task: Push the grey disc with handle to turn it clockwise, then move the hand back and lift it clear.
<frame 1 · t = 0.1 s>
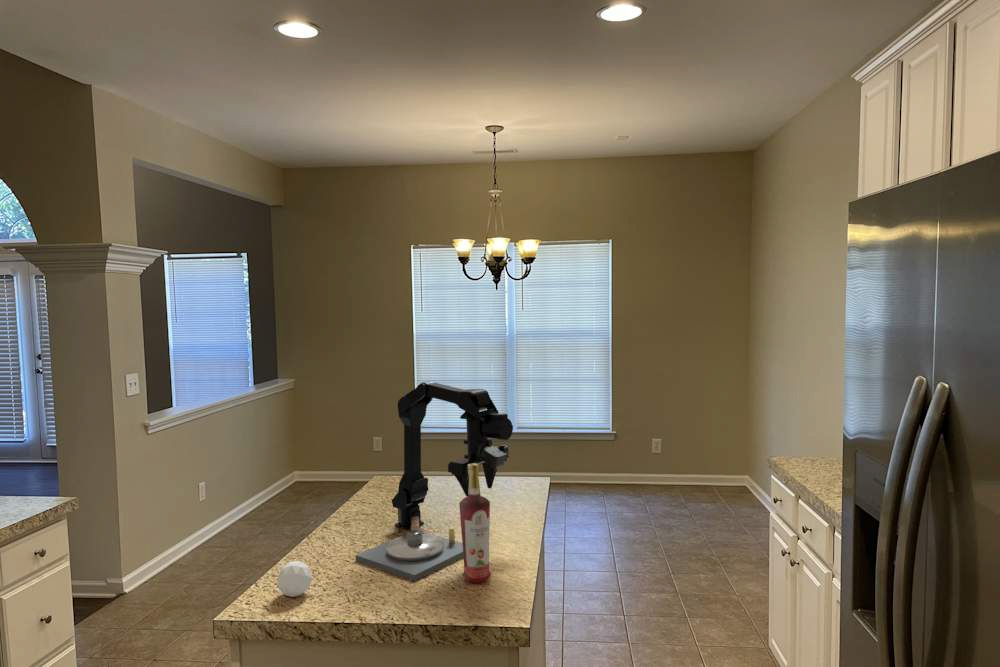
hand: (479, 492, 177), 15 cm above the counter, tool pointing down, fingers open, 9 cm apart
grey disc with handle: (415, 537, 173), point 4 cm above the counter, hinge at 0.0°
liquor: (477, 580, 155), on the counter
ball: (295, 595, 150), on the counter
post plate: (415, 556, 171), on the counter
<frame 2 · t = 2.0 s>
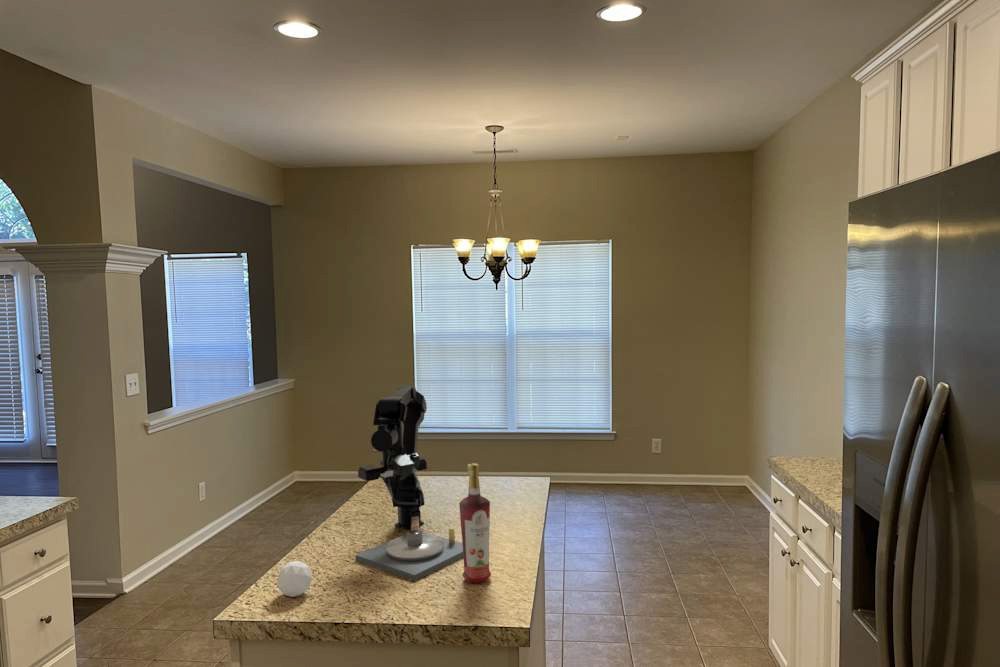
hand: (394, 498, 179), 13 cm above the counter, tool pointing down, fingers closed
nothing on the counter moved.
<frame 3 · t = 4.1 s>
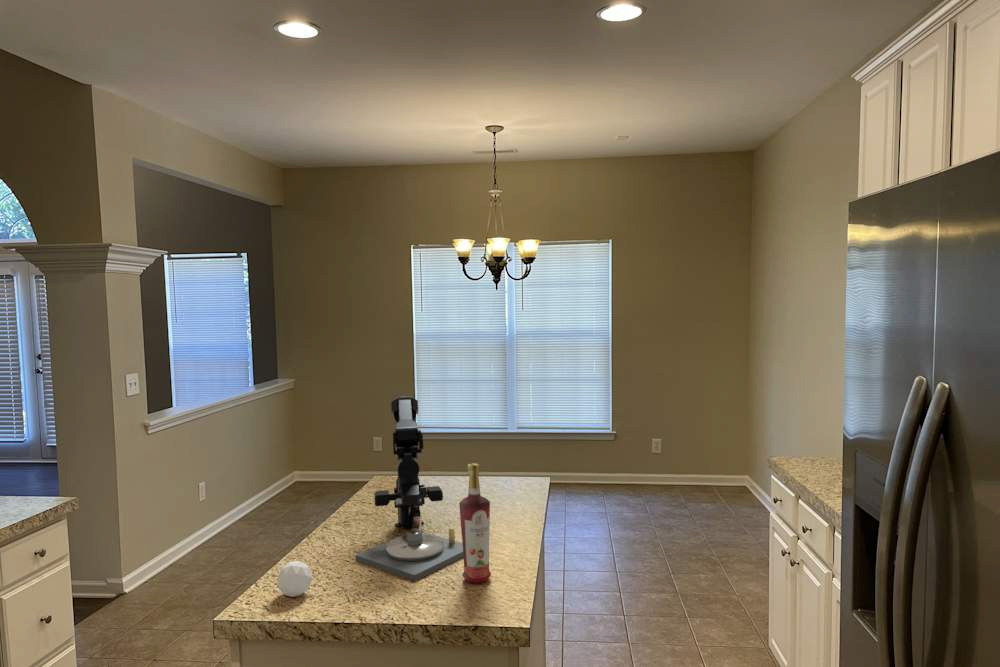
hand: (409, 526, 181), 5 cm above the counter, tool pointing down, fingers closed
grey disc with handle: (415, 537, 173), point 4 cm above the counter, hinge at -2.9°, touching gripper
everything else where it was.
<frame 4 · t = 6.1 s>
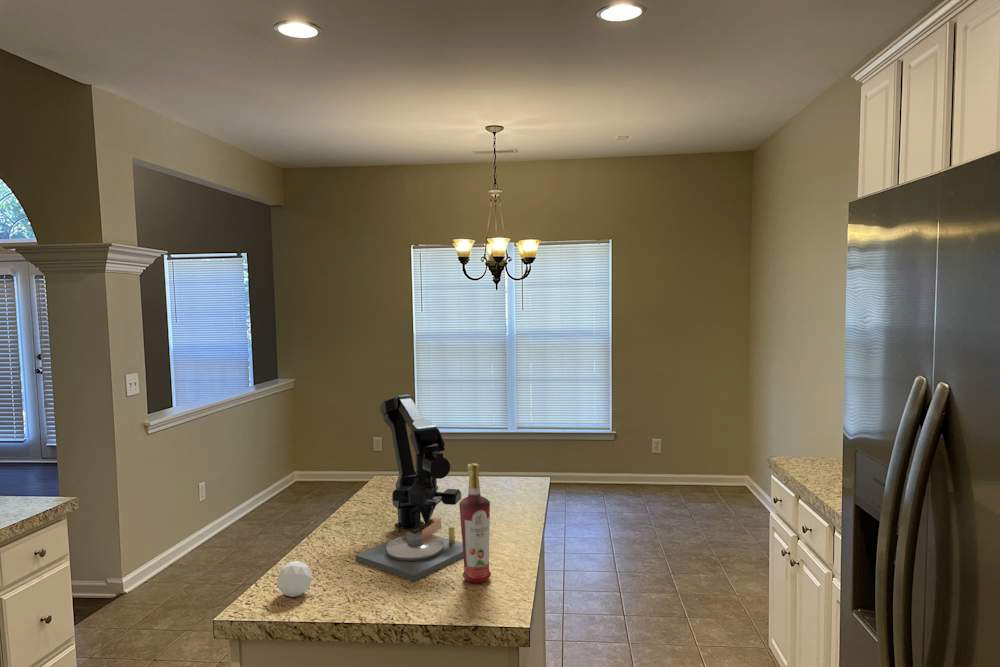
hand: (427, 525, 181), 5 cm above the counter, tool pointing down, fingers closed
grey disc with handle: (420, 537, 173), point 4 cm above the counter, hinge at -29.5°, touching gripper
everything else where it was.
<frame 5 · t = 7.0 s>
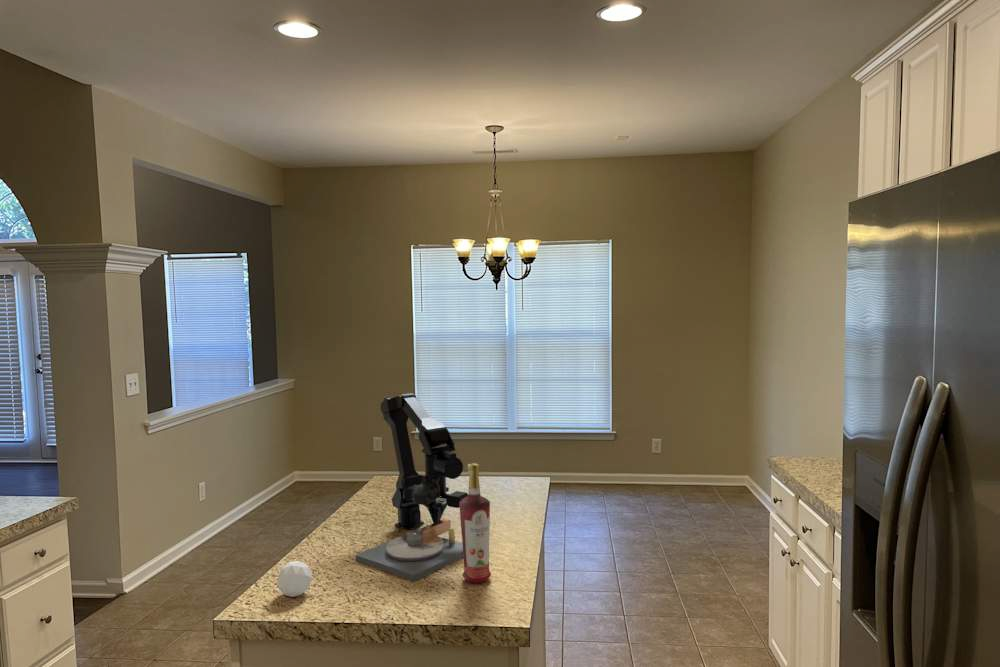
hand: (436, 526, 180), 5 cm above the counter, tool pointing down, fingers closed
grey disc with handle: (422, 538, 173), point 4 cm above the counter, hinge at -44.2°, touching gripper
everything else where it was.
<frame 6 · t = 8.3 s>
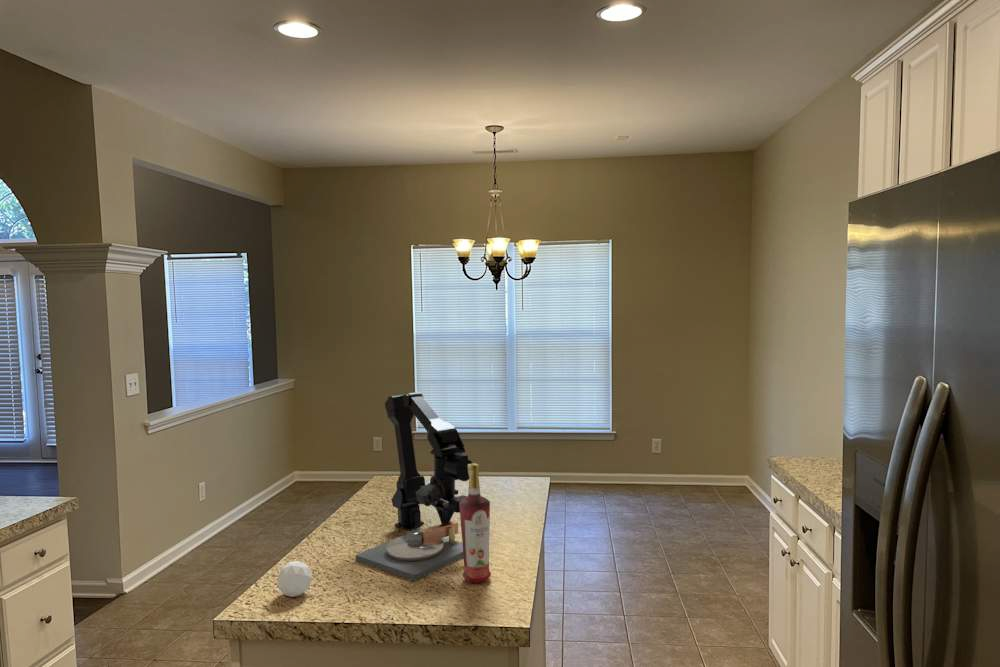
hand: (444, 527, 179), 5 cm above the counter, tool pointing down, fingers closed
grey disc with handle: (424, 538, 172), point 4 cm above the counter, hinge at -60.1°, touching gripper, post plate
everything else where it was.
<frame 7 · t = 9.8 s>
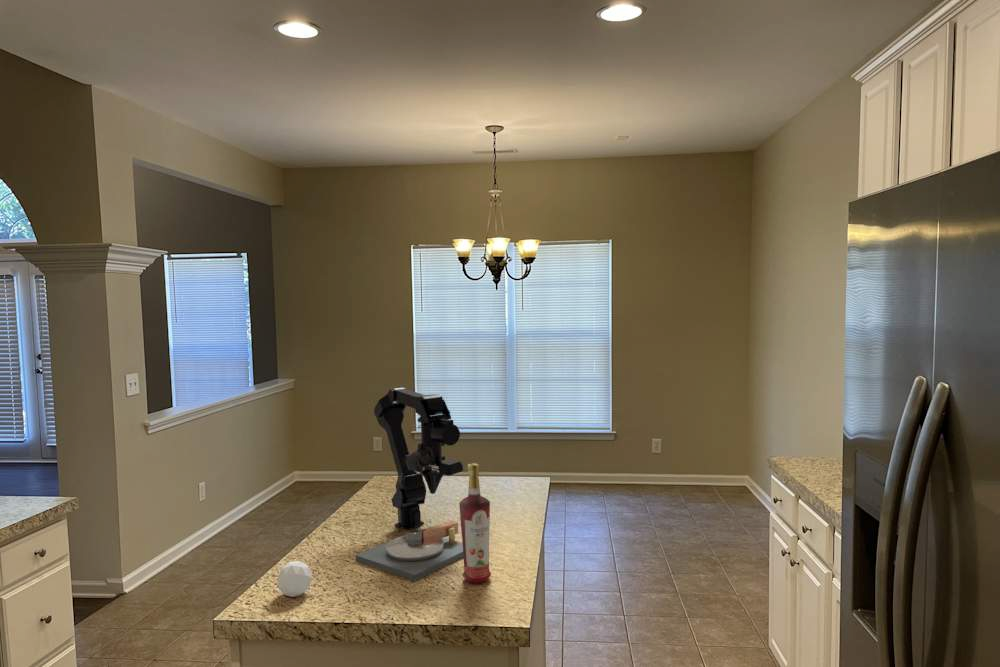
hand: (432, 493, 183), 13 cm above the counter, tool pointing down, fingers closed
grey disc with handle: (424, 538, 172), point 4 cm above the counter, hinge at -60.0°, touching post plate
everything else where it was.
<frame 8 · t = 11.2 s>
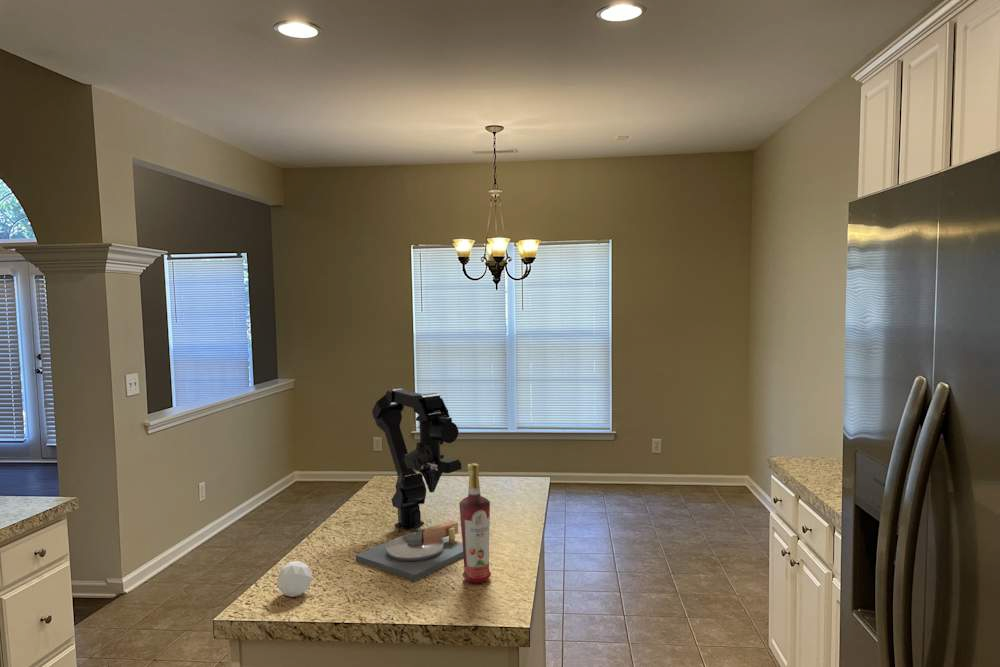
hand: (431, 492, 184), 13 cm above the counter, tool pointing down, fingers closed
nothing on the counter moved.
at the end: grey disc with handle at -60° (first picture: +0°) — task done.
